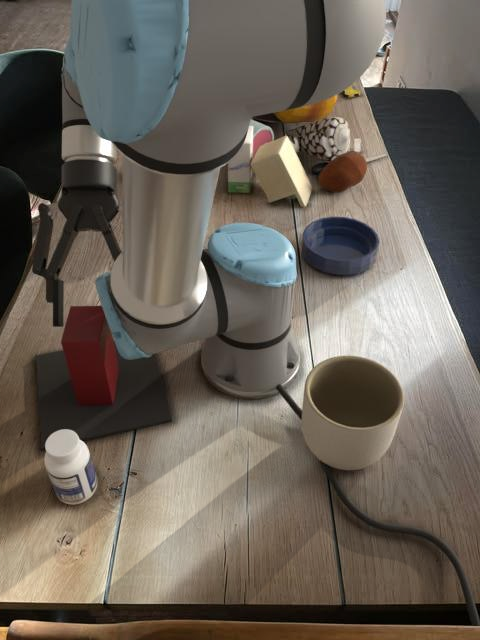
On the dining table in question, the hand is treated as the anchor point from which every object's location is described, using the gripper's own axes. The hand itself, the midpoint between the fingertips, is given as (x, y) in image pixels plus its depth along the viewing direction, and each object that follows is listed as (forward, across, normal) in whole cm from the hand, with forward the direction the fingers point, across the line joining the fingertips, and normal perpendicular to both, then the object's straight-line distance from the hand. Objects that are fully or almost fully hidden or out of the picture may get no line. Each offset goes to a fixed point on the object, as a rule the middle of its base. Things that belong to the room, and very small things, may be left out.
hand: (88, 326), depth 86 cm
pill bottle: (+21, 0, +6) cm, 22 cm away
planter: (+16, -36, +2) cm, 39 cm away
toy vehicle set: (-44, -46, -57) cm, 85 cm away
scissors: (-41, -58, -56) cm, 90 cm away
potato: (-36, -42, -46) cm, 72 cm away
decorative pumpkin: (-55, -34, -61) cm, 88 cm away
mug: (-46, -19, -54) cm, 73 cm away
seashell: (-47, -39, -52) cm, 80 cm away
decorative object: (-55, -31, -72) cm, 96 cm away
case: (+9, 0, -5) cm, 10 cm away
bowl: (-14, -41, -29) cm, 52 cm away
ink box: (-32, -23, -48) cm, 62 cm away
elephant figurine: (-38, -33, -54) cm, 74 cm away
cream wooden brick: (-37, -28, -38) cm, 60 cm away
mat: (+9, -1, -6) cm, 11 cm away
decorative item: (-67, -51, -83) cm, 118 cm away
